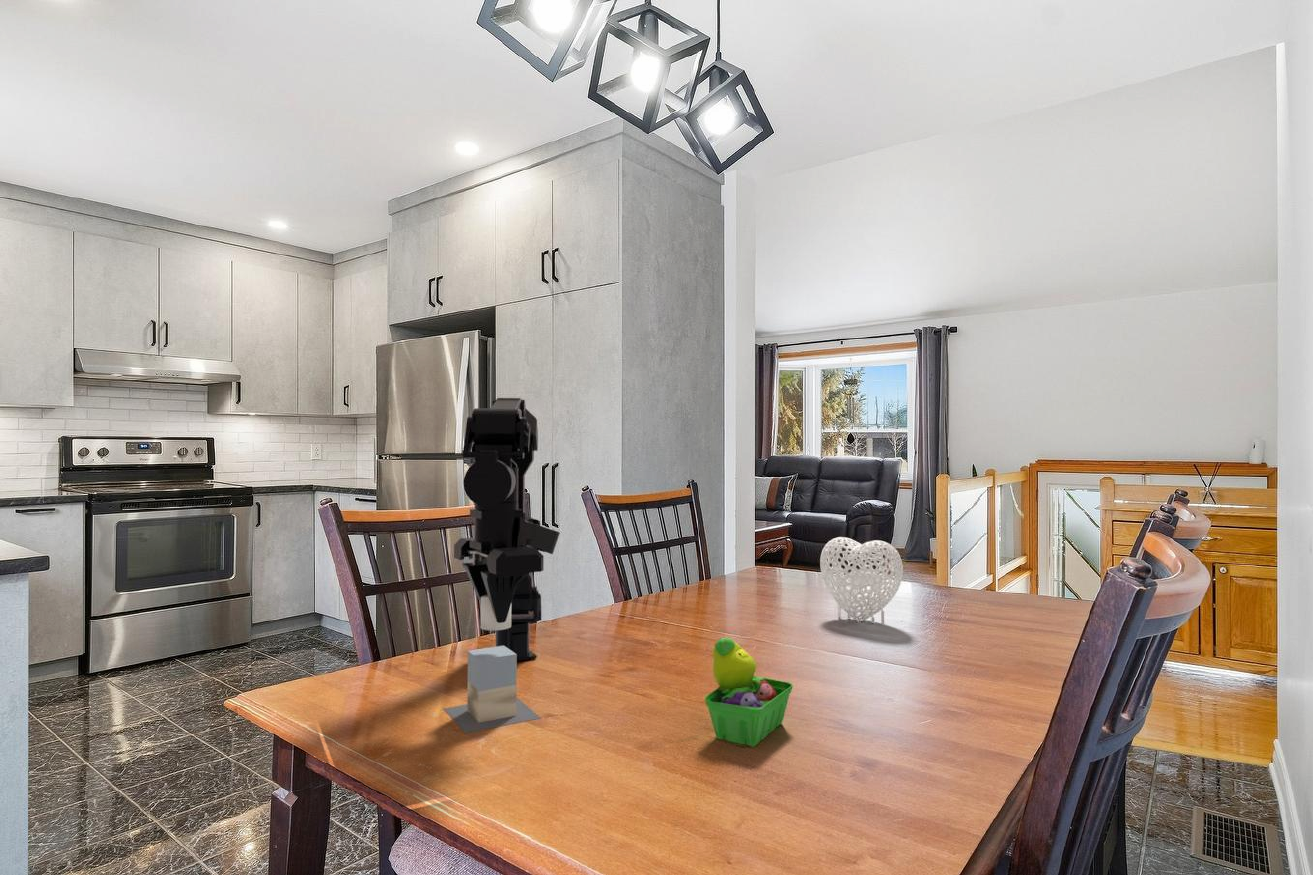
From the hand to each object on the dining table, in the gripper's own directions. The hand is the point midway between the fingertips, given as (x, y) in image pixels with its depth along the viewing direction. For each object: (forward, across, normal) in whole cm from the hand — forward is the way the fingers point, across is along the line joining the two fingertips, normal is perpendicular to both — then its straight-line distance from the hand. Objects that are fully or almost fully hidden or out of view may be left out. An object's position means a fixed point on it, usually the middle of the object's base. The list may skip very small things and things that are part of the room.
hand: (495, 619), depth 96 cm
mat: (+13, 0, 0) cm, 13 cm away
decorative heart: (+12, +12, -83) cm, 85 cm away
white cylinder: (+1, 0, 0) cm, 1 cm away
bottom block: (+12, 0, 0) cm, 12 cm away
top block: (+8, 0, 0) cm, 8 cm away
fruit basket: (+13, -21, -25) cm, 36 cm away
